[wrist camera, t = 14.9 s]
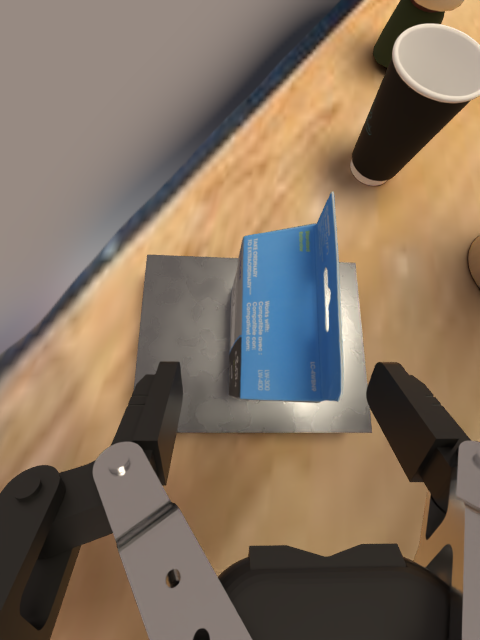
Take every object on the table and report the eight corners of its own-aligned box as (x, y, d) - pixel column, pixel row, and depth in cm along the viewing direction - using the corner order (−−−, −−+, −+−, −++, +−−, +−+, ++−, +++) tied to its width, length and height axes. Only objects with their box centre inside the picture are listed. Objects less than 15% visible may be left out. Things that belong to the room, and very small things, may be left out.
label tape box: (231, 287, 23) (242, 179, 12) (279, 289, 24) (339, 187, 12) (227, 396, 21) (235, 404, 9) (280, 397, 21) (354, 407, 10)
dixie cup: (415, 188, 32) (512, 88, 21) (354, 205, 31) (424, 108, 20) (385, 134, 34) (461, 15, 23) (326, 148, 33) (377, 30, 22)
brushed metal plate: (337, 280, 29) (355, 262, 25) (348, 426, 25) (372, 432, 21) (157, 273, 27) (147, 254, 24) (144, 425, 24) (129, 432, 20)
